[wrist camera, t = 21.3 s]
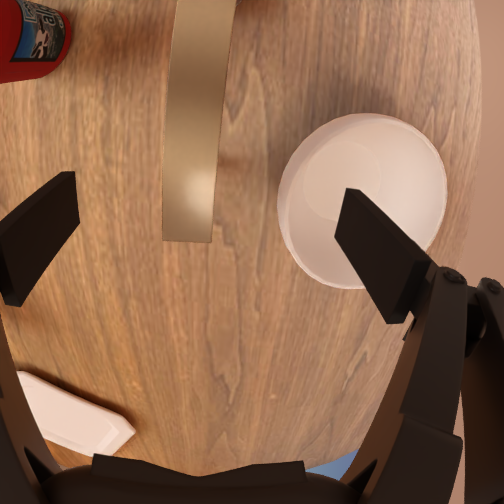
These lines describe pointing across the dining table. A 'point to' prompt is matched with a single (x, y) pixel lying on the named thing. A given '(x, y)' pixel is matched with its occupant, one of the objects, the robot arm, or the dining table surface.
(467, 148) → the dining table surface
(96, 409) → the plate
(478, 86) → the dining table surface
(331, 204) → the bowl
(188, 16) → the ladle
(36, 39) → the beverage can
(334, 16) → the dining table surface
